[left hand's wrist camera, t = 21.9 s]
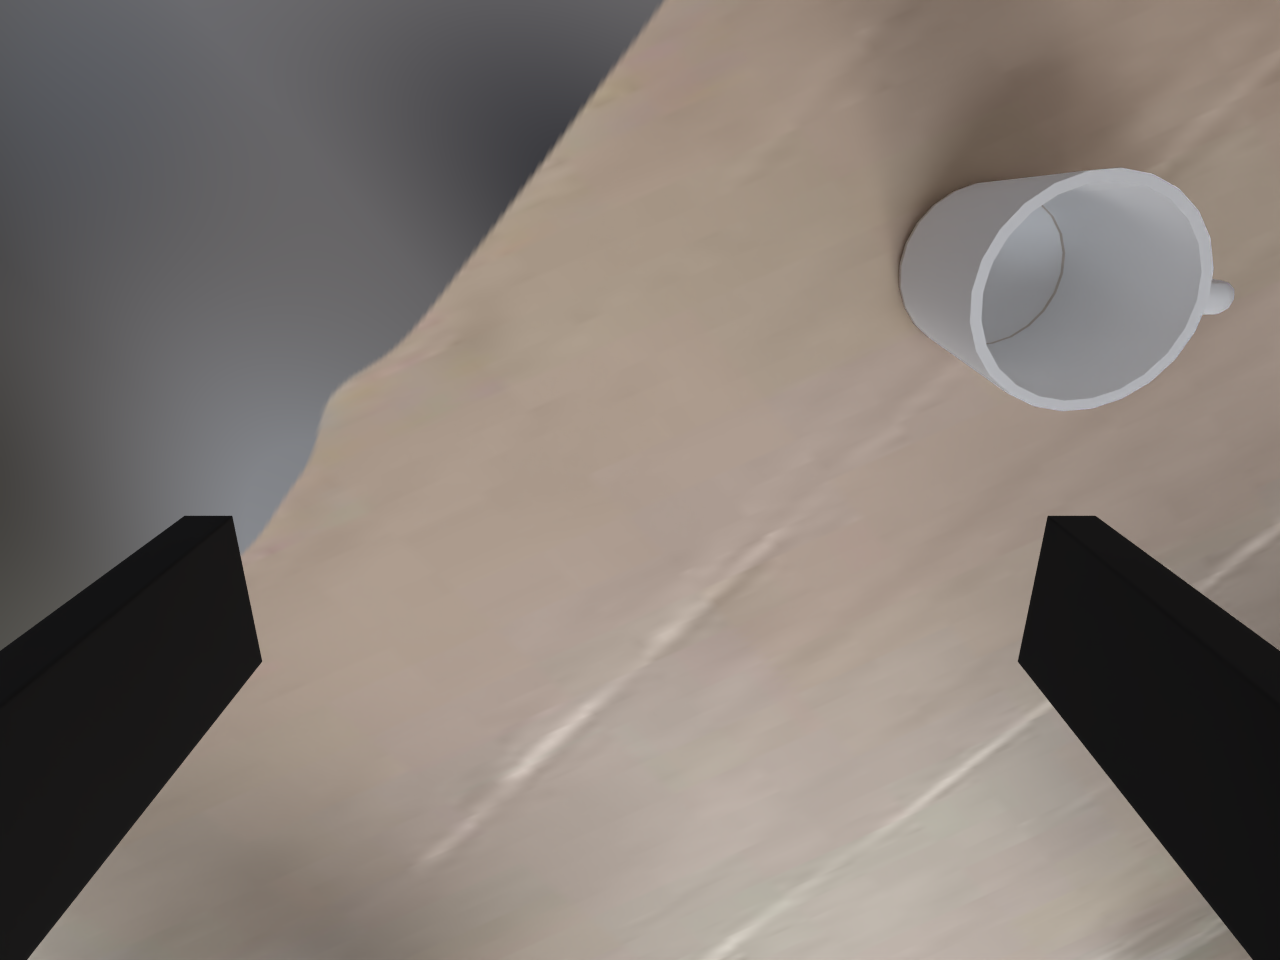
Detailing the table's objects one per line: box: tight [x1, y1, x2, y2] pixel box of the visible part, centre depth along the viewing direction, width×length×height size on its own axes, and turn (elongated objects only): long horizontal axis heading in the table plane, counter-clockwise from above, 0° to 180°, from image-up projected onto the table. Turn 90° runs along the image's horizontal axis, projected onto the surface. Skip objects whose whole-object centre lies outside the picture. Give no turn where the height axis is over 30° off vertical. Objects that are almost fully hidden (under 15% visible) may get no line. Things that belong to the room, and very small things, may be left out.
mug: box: [899, 168, 1234, 411], centre depth 34 cm, size 11×9×10 cm
